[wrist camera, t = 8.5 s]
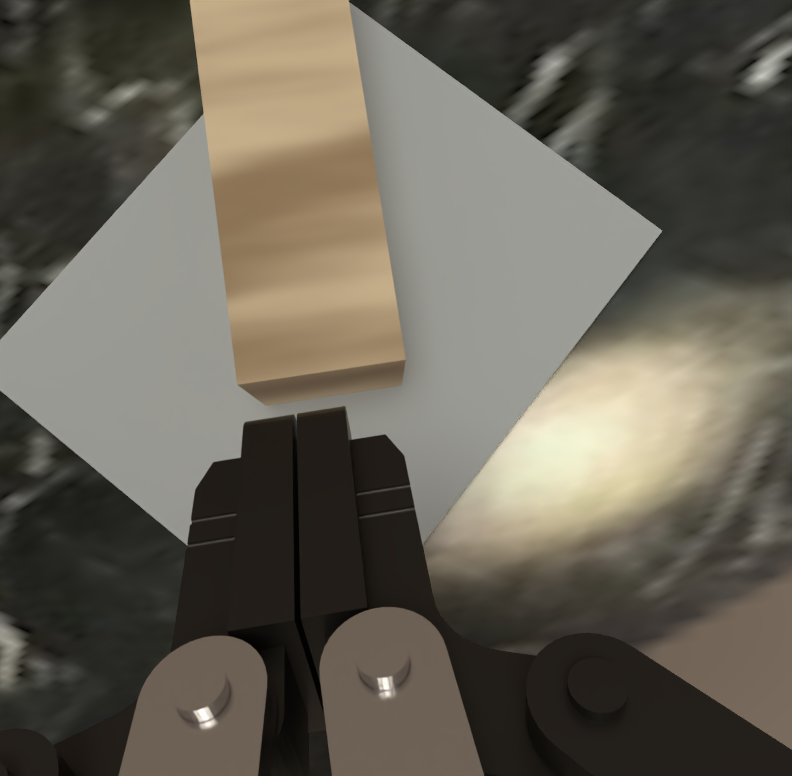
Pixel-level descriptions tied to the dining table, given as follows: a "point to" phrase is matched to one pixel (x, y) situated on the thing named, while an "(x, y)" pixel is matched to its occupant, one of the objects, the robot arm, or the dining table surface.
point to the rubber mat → (413, 282)
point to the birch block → (296, 200)
